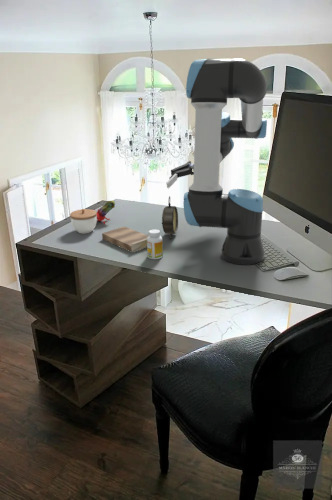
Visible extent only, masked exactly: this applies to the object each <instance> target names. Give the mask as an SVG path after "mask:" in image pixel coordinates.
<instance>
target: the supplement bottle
mask: <svg viewBox="0 0 332 500" xmlns="http://www.w3.org/2000/svg"><path fill="white" fill-rule="evenodd" d="M148 236H149V237H148V238H147V248H146V249H147V257H148V259H150V260H160V259H162V257H163V255H164V254H163V253H164V252H163V248H164V247H163V237H162V236H161V231H160V230H159V229H154V228H153V229H150V230H148Z"/></svg>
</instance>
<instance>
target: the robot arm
mask: <svg viewBox="0 0 332 500" xmlns="http://www.w3.org/2000/svg"><path fill="white" fill-rule="evenodd" d="M185 86H186V87H185V95H186V98H187V99H189V100H190V105H191V106H192V107H193V108H194V110H195V117H194V118H195V119H194V121H195V122H194V148H193V149H194V151H193V152H194V154H193V163H192V161H191V160H189V161H187V162H186V163H184V164H181V165H179V166H177V167H175V168H173V169H170V174H171V175H170V176H169V178H168V180H167V181H166V188H167V189H170V188H171V187H172V186H173V185H174V184H175V182H177V181H178V179H179V178H182V177H186V176H189V175H190V176H193V181H192V183H191V185H190V186H189V187H188V191H186V192H185V193H184V195H183V214H184V218H185V221H186V223H187V225H189V226H192V227H199V228H202V227H203V228H216V229H217V228H218V229H219V228H220V229H227V230H226V237H225V239H224V241H223V244H222V246H221V250H220V256H221V258H222V259H223V260H225V261H226V262H228V263H231V264H234V265H245V266H247V265H255V264H258V262H259V263H261V262H262V261H264V259H265V253H266V252H265V248H264V245H263V241H262V236H261V235H262V227H263V225H262V223H263V212H264V199H263V197H262V195H261V194H259V193H258V192H255V191H252V190H249V189H242V188H237V189H236V188H233V189H230V190H229V191H228V193H227V194H226V193H223V187H222V186H221V185H220V183H219V182H220V181H219V180H220V178H219V177H220V164H221V162H223V160H224V159H225V158H226V157H228V155H230V153H231V151H232V150H233V149H234V147H235V146H234V145H235V142H234V140H233V139H264V138H266V136H267V127H268V120H267V119H265V118H263V108H264V107H263V106H264V105H263V104H264V98H265V97H266V95H267V90H268V85H267V80H266V77H265V75H264V74H263V72H262V71H261V69H260V68H259V67H258V66H257V65H256V64H254V63H253V62H251V61H249V60H247V59H245V58H236V57H235V58H203V59H195V60H193V61H192V63H191V64H190V66H189V69H188V72H187V77H186V85H185ZM228 99H239V100H240V107H241V108H240V110H241V112H240V113H241V118H231V115H230V114H229V113H228V112H225V111H223V109H224V108H225V107H226V106H227V104H228ZM263 258H264V259H263ZM260 261H261V262H260Z"/></svg>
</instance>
